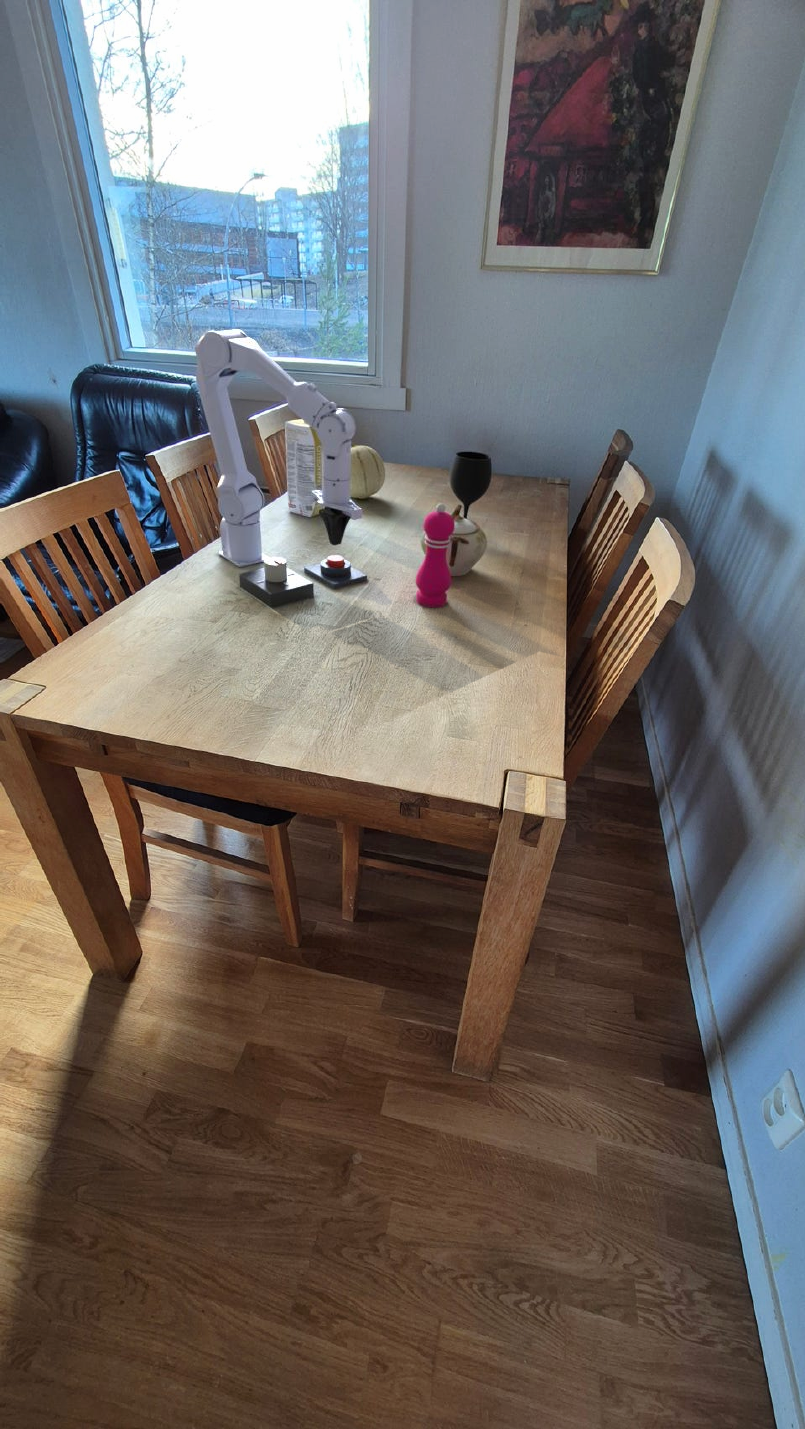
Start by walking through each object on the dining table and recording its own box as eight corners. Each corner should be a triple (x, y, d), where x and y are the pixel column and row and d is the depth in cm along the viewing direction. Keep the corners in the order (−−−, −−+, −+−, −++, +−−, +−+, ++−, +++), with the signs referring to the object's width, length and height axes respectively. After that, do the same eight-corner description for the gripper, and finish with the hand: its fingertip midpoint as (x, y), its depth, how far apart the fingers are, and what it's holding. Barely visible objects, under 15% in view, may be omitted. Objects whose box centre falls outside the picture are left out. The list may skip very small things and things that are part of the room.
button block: (304, 572, 135) (303, 559, 134) (336, 564, 141) (336, 551, 139) (334, 589, 129) (334, 576, 127) (367, 580, 134) (367, 567, 133)
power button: (323, 563, 133) (323, 557, 132) (337, 560, 135) (337, 553, 135) (333, 569, 131) (333, 562, 130) (347, 565, 133) (347, 559, 132)
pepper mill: (452, 597, 130) (464, 502, 118) (443, 611, 124) (454, 511, 113) (419, 591, 131) (428, 496, 120) (409, 604, 126) (417, 505, 114)
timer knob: (260, 576, 124) (259, 558, 122) (279, 572, 127) (278, 554, 125) (272, 584, 122) (271, 565, 120) (291, 579, 124) (290, 560, 122)
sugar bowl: (483, 589, 135) (494, 521, 126) (415, 583, 135) (421, 514, 126) (481, 557, 151) (490, 494, 142) (420, 551, 151) (426, 488, 142)
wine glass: (438, 537, 160) (446, 456, 149) (450, 526, 168) (459, 448, 157) (476, 544, 158) (487, 463, 146) (486, 533, 166) (498, 454, 154)
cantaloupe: (383, 506, 179) (385, 452, 170) (332, 502, 178) (332, 447, 170) (384, 492, 191) (387, 440, 182) (337, 488, 190) (338, 436, 182)
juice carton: (328, 512, 171) (328, 418, 157) (310, 519, 165) (308, 422, 151) (302, 505, 174) (300, 412, 161) (283, 511, 169) (280, 416, 155)
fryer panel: (240, 587, 127) (238, 572, 125) (281, 577, 133) (280, 563, 131) (271, 608, 120) (270, 593, 118) (313, 596, 126) (313, 582, 124)
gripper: (298, 471, 125) (300, 536, 133) (342, 489, 116) (341, 558, 124) (326, 467, 129) (326, 531, 137) (371, 484, 120) (368, 551, 128)
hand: (335, 543), depth 131 cm, fingers closed
